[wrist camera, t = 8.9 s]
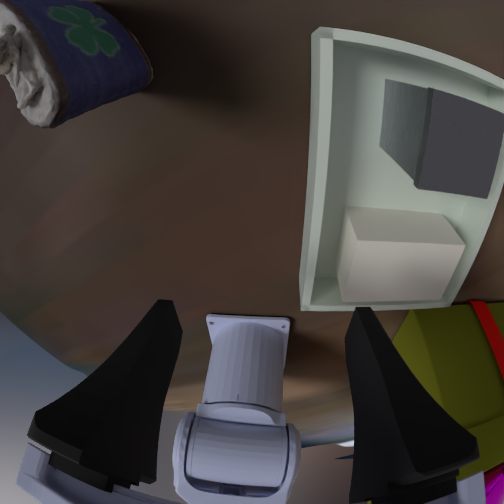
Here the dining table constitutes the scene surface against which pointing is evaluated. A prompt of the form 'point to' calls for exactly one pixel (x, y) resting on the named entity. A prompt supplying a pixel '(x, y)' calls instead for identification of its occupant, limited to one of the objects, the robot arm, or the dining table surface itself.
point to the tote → (379, 155)
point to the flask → (67, 58)
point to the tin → (441, 138)
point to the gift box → (463, 376)
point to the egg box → (395, 255)
